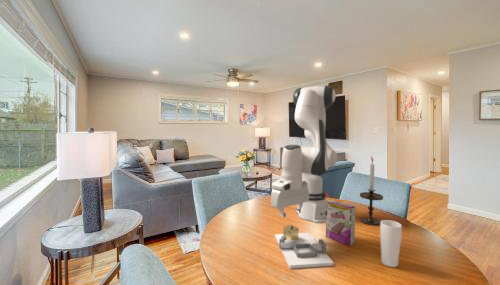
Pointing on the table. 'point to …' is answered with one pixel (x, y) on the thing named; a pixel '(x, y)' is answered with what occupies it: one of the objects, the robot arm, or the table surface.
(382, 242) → the white cup
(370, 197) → the candlestick
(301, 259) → the shaft bench
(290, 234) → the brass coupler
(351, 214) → the candy bar box
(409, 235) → the table surface
